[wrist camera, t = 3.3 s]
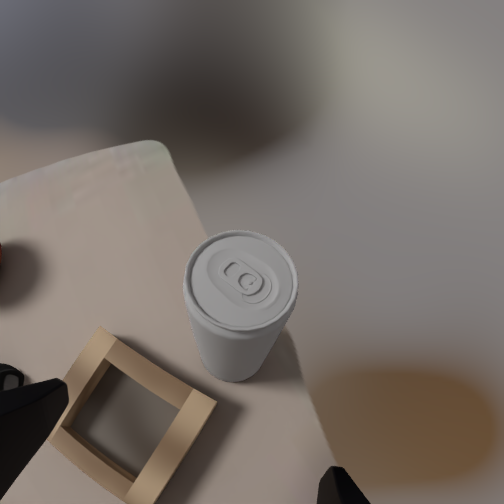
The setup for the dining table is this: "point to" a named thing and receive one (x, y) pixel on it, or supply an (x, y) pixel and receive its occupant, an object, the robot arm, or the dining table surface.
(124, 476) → the socket block
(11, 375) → the electric trimmer
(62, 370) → the dining table surface
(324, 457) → the dining table surface
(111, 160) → the dining table surface
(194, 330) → the beverage can
